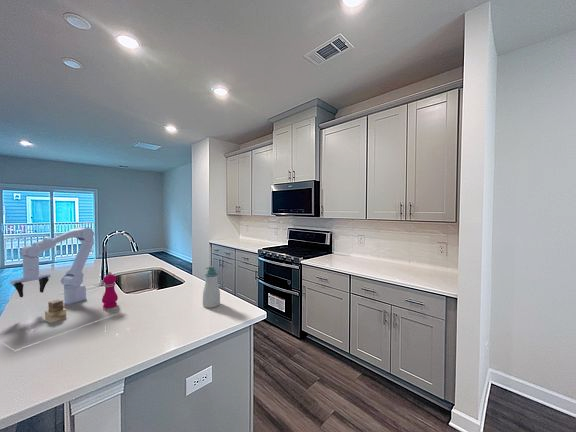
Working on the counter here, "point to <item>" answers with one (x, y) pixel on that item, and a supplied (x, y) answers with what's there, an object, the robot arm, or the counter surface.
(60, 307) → the walnut block
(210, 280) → the soap bottle
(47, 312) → the oak base
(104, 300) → the pepper mill
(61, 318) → the slate mat
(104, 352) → the counter surface
